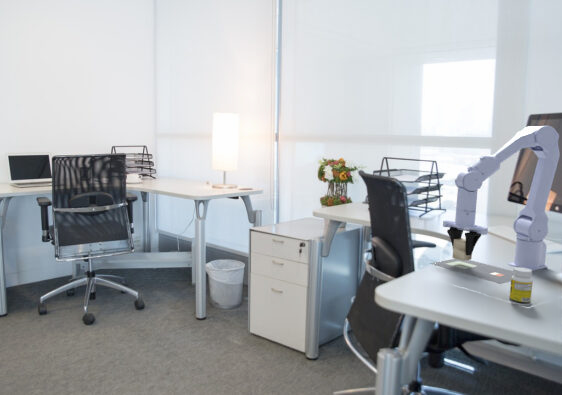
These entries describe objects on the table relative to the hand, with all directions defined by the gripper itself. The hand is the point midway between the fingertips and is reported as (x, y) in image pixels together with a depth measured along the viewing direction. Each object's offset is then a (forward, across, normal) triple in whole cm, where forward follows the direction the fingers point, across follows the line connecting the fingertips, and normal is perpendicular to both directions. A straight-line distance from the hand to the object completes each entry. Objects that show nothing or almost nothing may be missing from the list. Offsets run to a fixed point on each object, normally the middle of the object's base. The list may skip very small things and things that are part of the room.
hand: (462, 253), depth 153 cm
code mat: (+4, +6, 0) cm, 7 cm away
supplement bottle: (+4, +29, -18) cm, 34 cm away
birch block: (+2, 0, 0) cm, 2 cm away
